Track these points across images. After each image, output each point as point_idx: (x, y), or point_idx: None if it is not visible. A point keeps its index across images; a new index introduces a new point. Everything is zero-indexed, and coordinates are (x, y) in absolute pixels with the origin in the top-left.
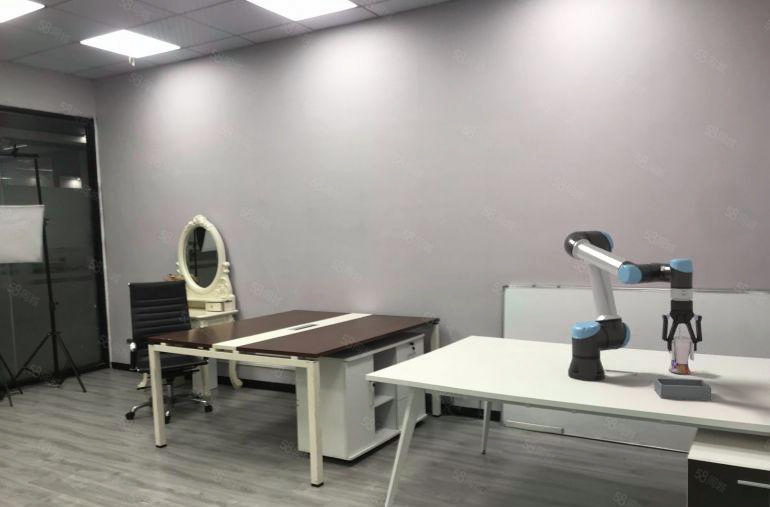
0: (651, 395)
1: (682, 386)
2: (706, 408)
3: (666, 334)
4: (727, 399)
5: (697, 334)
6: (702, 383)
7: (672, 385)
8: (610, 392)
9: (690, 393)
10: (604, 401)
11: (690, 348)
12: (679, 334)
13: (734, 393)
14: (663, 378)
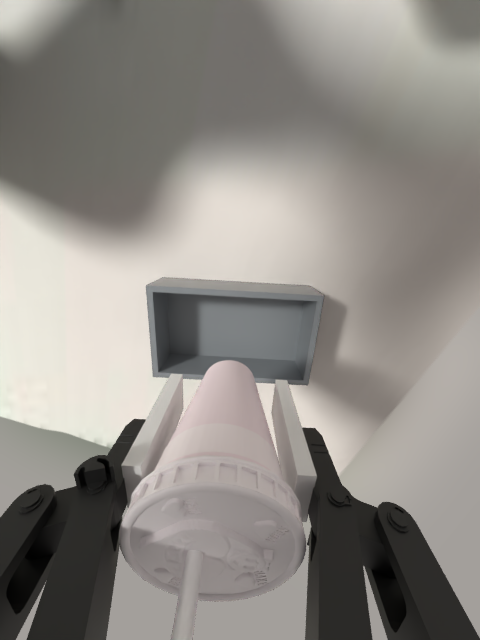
0: (145, 330)
1: None
2: None
3: (10, 629)
4: (347, 351)
5: (400, 629)
6: (311, 315)
7: (189, 377)
8: (26, 309)
9: None
10: (18, 391)
11: (284, 447)
12: (177, 610)
13: (406, 289)
14: (180, 290)
